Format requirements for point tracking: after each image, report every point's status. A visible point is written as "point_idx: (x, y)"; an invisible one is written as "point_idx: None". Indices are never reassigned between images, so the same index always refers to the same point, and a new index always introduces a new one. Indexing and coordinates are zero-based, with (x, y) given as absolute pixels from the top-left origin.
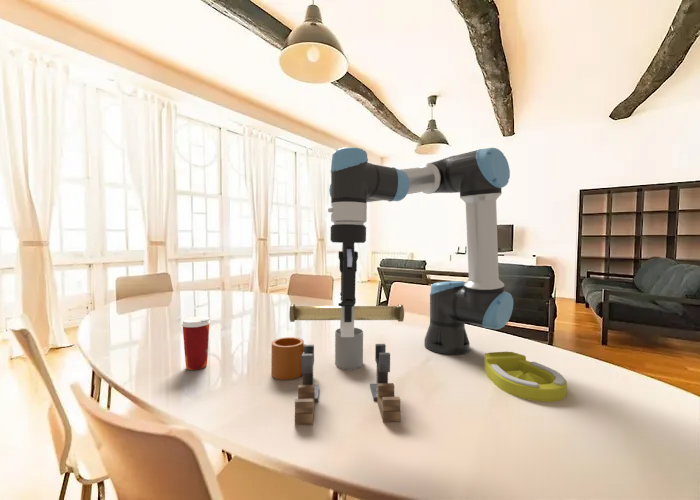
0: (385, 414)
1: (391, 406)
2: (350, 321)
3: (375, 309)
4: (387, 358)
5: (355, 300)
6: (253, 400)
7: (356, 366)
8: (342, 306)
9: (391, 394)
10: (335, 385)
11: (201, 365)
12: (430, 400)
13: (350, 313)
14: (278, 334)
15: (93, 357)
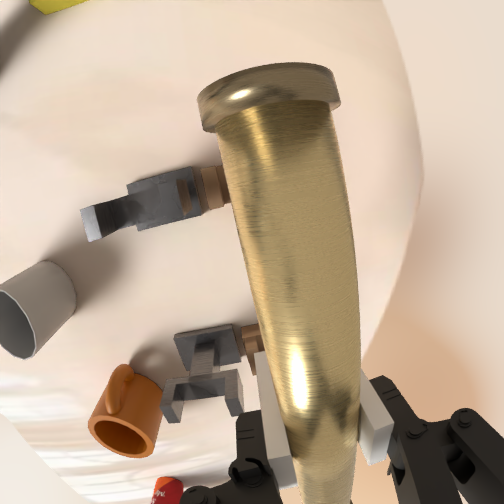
0: None
1: None
2: (385, 380)
3: (354, 305)
4: (180, 188)
5: (260, 457)
6: (244, 411)
7: (62, 274)
8: (386, 454)
9: (217, 173)
10: (151, 305)
11: (174, 481)
12: (176, 91)
13: (404, 403)
14: (20, 418)
15: None
